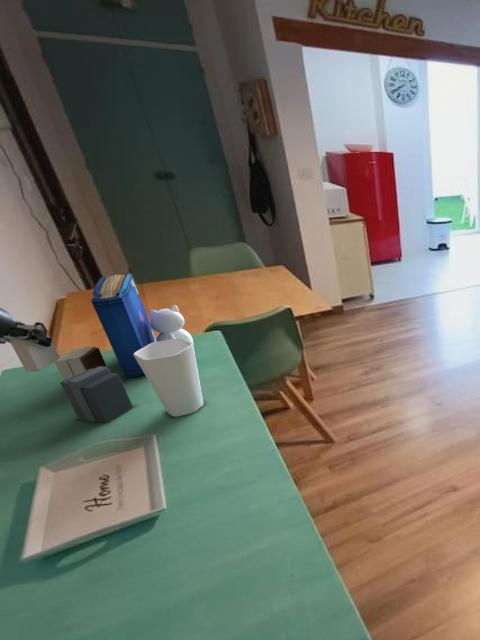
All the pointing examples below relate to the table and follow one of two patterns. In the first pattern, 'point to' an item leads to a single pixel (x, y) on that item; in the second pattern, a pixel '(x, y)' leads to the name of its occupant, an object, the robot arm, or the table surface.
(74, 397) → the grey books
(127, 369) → the book
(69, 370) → the grey brown block
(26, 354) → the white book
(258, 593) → the table surface
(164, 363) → the cup
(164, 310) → the cat figurine
